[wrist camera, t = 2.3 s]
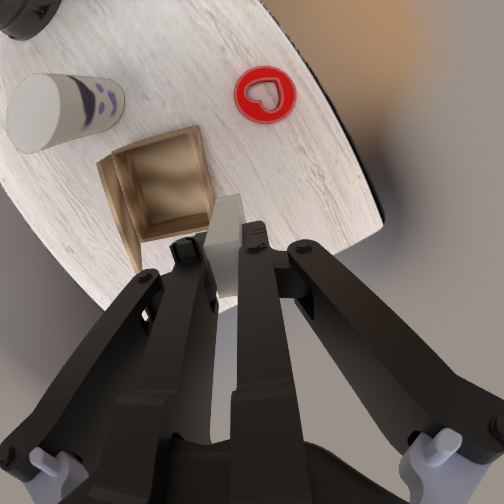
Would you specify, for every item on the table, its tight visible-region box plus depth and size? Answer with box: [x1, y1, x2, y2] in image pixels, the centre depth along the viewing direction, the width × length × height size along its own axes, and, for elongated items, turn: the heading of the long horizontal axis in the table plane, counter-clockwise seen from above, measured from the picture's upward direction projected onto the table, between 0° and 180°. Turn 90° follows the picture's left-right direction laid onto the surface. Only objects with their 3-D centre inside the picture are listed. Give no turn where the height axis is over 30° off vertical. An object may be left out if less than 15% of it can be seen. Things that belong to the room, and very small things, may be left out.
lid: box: [96, 154, 142, 275], centre depth 34 cm, size 15×12×1 cm
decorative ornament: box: [234, 66, 296, 124], centre depth 39 cm, size 10×10×3 cm
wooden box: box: [112, 125, 215, 243], centre depth 43 cm, size 16×13×7 cm
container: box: [6, 73, 124, 154], centre depth 29 cm, size 10×10×20 cm
